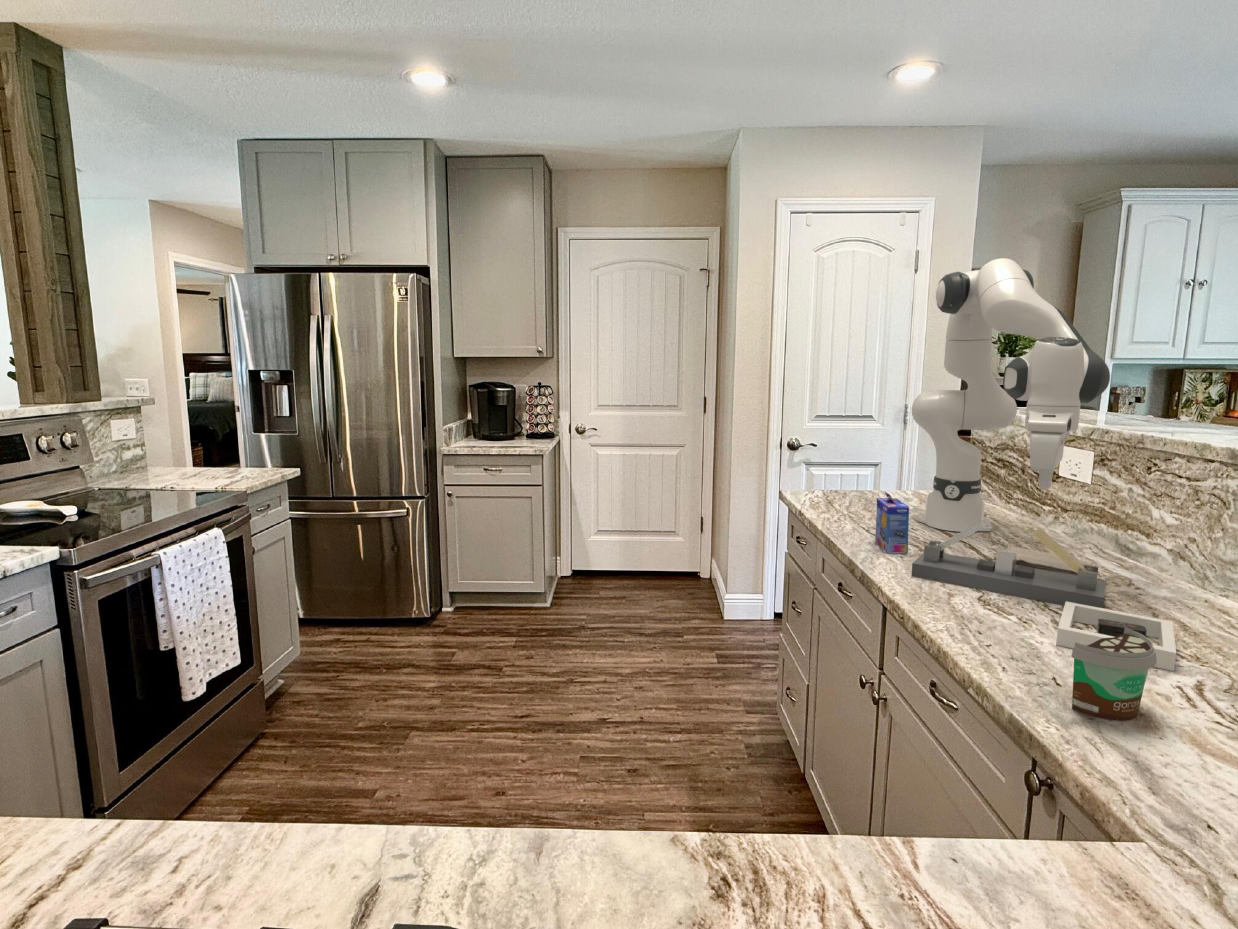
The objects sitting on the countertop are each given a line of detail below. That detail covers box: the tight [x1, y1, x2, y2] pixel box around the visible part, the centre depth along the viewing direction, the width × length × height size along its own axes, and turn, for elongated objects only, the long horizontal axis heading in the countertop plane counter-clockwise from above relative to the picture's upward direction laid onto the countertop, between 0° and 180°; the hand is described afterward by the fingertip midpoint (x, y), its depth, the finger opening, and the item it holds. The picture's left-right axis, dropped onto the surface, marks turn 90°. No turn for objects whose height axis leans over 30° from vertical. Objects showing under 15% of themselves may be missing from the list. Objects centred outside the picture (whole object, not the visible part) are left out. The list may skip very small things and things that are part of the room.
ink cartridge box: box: [874, 491, 910, 555], centre depth 160 cm, size 10×6×14 cm, turn 174°
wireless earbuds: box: [1096, 619, 1148, 638], centre depth 108 cm, size 5×7×3 cm, turn 57°
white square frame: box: [1056, 601, 1177, 672], centre depth 107 cm, size 15×15×3 cm
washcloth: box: [992, 546, 1094, 576], centre depth 146 cm, size 12×18×3 cm, turn 42°
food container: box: [1070, 628, 1157, 722], centre depth 85 cm, size 12×6×10 cm, turn 114°
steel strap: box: [934, 520, 986, 551], centre depth 139 cm, size 3×13×2 cm
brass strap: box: [1032, 527, 1092, 574], centre depth 127 cm, size 3×13×2 cm
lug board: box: [911, 540, 1107, 608], centre depth 134 cm, size 12×34×6 cm, turn 51°
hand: (1044, 488), depth 128 cm, fingers closed
